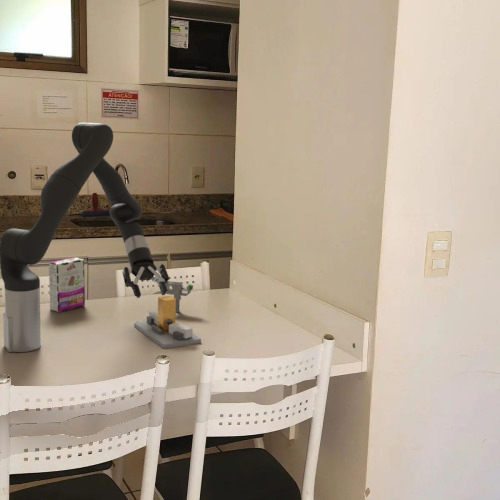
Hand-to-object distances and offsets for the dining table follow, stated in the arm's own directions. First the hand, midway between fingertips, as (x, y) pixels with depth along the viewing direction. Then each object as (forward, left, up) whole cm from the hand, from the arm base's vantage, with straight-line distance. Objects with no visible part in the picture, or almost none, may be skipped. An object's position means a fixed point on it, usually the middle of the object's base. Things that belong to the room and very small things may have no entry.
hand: (151, 295), depth 213 cm
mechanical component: (+13, +8, -9) cm, 18 cm away
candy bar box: (-19, +26, -10) cm, 34 cm away
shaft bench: (0, -12, -9) cm, 15 cm away
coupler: (0, -11, -8) cm, 14 cm away
